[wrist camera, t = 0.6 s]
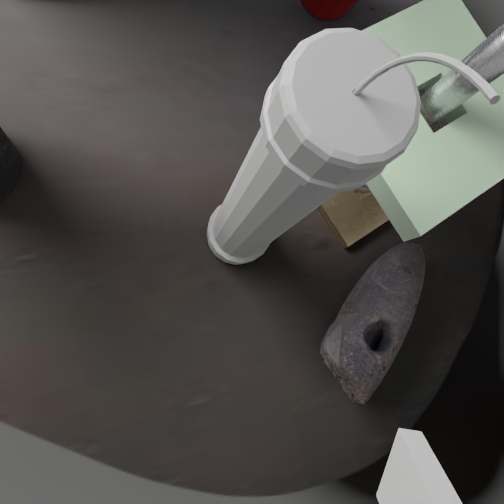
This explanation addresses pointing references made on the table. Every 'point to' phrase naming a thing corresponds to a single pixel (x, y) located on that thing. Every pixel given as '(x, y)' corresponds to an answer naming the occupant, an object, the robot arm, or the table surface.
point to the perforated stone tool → (374, 321)
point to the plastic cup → (328, 8)
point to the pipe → (322, 135)
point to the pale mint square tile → (447, 138)
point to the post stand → (432, 109)
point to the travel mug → (8, 165)
